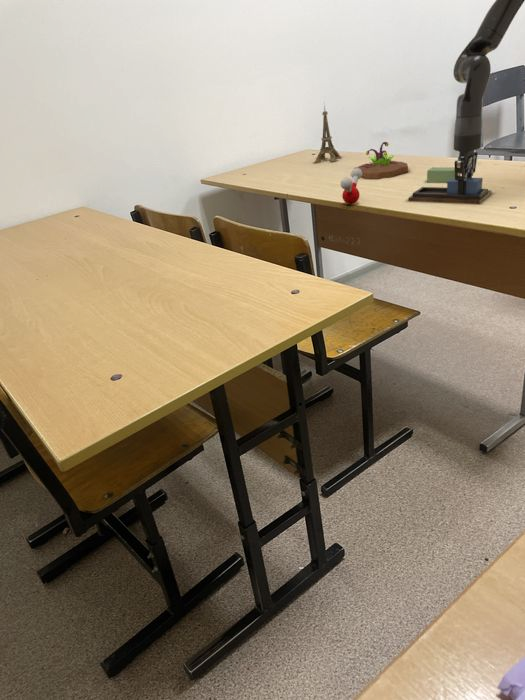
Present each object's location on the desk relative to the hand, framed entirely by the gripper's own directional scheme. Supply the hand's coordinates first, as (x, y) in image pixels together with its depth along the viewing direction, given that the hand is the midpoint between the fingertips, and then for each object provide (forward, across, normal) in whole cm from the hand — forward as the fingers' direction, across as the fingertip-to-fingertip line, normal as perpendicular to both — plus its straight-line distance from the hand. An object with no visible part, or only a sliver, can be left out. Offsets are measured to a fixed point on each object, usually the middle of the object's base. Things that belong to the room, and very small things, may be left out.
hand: (464, 190), depth 163 cm
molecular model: (+2, -12, +32) cm, 35 cm away
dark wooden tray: (+2, 0, +4) cm, 5 cm away
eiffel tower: (+2, +55, +80) cm, 98 cm away
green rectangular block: (+2, +21, +14) cm, 26 cm away
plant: (+2, +32, +42) cm, 53 cm away
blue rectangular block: (+1, 0, 0) cm, 1 cm away
